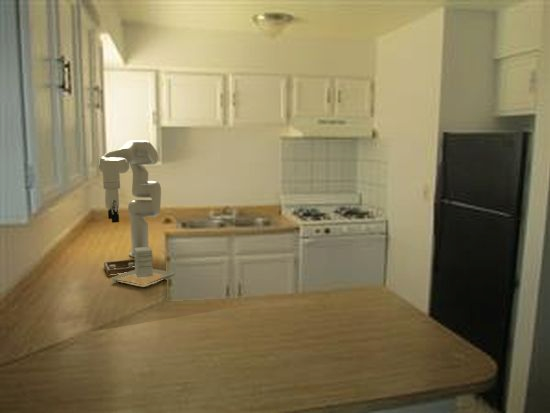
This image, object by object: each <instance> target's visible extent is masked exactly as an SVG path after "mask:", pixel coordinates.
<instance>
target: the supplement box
mask: <svg viewBox="0 0 550 413" xmlns="http://www.w3.org/2000/svg"><path fill="white" fill-rule="evenodd" d="M133 259H135V274H136V276H137V278H140V277H150V276H153V269H154V268H153V250H152V249H151V247H150V246H149V247H140V248H134V258H133Z"/></svg>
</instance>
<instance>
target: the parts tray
mask: <svg viewBox="0 0 550 413" xmlns="http://www.w3.org/2000/svg"><path fill="white" fill-rule="evenodd" d="M129 262H135V259H134V258H132V259H121V260H115V261H113V260H112V261H104V262H103V269H104V270H105V272H106V274H107V273H108V274H107V276H108V275H110V274H117V273H124V272H130V271H133V270H135V267H128V266H127V267H125V266H124V265H128V263H129ZM113 264H114V265H115V266H122V267H118V268H116V269H109V265H113Z"/></svg>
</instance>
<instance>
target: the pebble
mask: <svg viewBox="0 0 550 413" xmlns="http://www.w3.org/2000/svg"><path fill="white" fill-rule="evenodd" d="M128 266H130V267H132V266H135V262H129V263H128ZM128 266H127V267H128Z"/></svg>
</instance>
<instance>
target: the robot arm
mask: <svg viewBox="0 0 550 413" xmlns="http://www.w3.org/2000/svg"><path fill="white" fill-rule="evenodd" d="M99 160H100V165H99V168H98V170H99V169H100V170H99V171H100V172H101V173H102V184H103V190H104V191H105V195H104V196H105V199H104V200H105V208H106V209H107V216H108V220H111V223H120V215H119V209H120V196H119V189H121V178H120V174H125V173H127V172H128V171H129V169H130V168H131V172H132V186H131V192H132V193H131V194H132V196H133V197H135V198H138V199H133V200H131V201H130V202H129V203H128V205H127V207H128V208H127V210H128V215H129V220H130V240H131V241H130V243H131V251H130V252H128V256H130V257H134V248H140V247H150V245H149V244H150V243H149V242H150V241H149V223H148V221H147V220H146V218H157V217H158V216H159V215H160V214H161V203H162V202H161V200H162V199H161V197H162V188H161V184H160V183H159V182H158V181H155V180H154V181H153V180H149V172H148V170H147V168H146V167H145V165H147V166H148V165H150V166H152V165H156V164H157V163H158V161H159V155H158V151H157V150H156V149H155V146H154V145H153V144H152V143H151V142H150V141H148V140H129V141H127V142H126V143H125V144H124V145H123V146H122V147H121V148H118V149H115V150H112V151H108V152H106V153H104V154H103V155H102V156H101V157H100V158H99ZM139 198H142V199H139ZM147 198H149V199H147Z"/></svg>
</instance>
